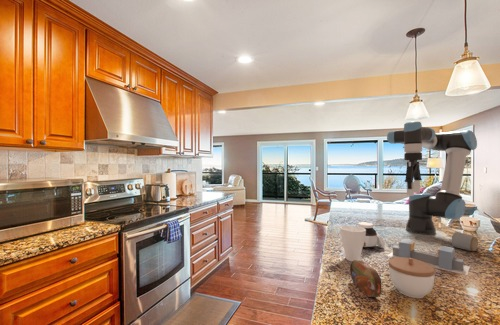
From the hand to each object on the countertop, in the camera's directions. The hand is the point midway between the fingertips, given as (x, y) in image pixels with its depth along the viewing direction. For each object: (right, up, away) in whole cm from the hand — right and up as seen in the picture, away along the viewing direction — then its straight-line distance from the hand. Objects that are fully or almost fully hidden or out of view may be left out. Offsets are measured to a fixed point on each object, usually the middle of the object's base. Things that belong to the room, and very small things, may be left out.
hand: (413, 194), depth 125 cm
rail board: (-9, -26, -21) cm, 35 cm away
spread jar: (-23, -27, -2) cm, 35 cm away
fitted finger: (-5, -26, -27) cm, 37 cm away
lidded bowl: (-31, -26, -45) cm, 61 cm away
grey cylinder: (+22, -26, -5) cm, 35 cm away
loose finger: (-14, -26, -17) cm, 34 cm away
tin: (-45, -26, -43) cm, 68 cm away
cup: (-38, -27, -17) cm, 50 cm away
